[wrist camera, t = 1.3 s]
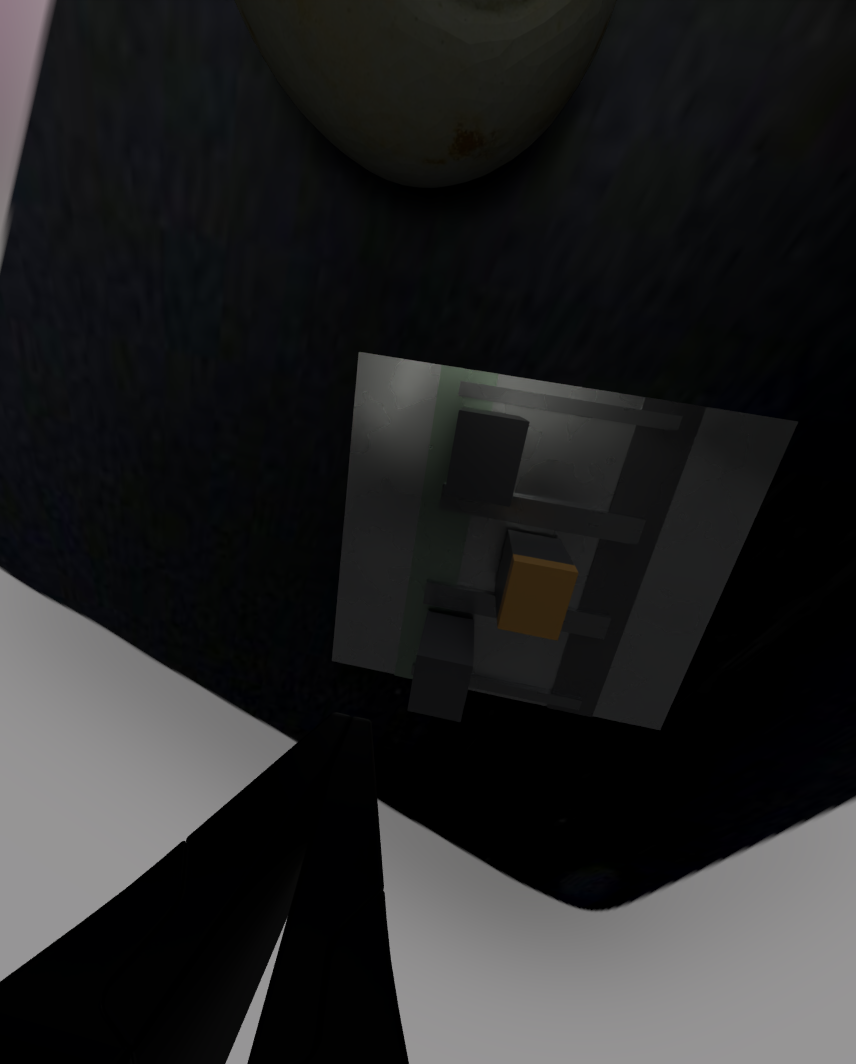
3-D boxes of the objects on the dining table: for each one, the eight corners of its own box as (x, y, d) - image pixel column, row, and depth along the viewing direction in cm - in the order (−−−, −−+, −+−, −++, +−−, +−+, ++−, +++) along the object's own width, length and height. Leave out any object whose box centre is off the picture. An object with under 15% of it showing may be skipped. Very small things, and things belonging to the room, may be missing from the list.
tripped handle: (560, 539, 18) (578, 572, 15) (544, 596, 20) (557, 640, 16) (508, 529, 19) (514, 560, 15) (494, 587, 20) (497, 628, 16)
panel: (780, 420, 17) (806, 422, 16) (652, 715, 22) (663, 736, 21) (365, 354, 18) (356, 350, 17) (337, 650, 24) (329, 665, 22)
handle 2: (519, 416, 17) (529, 421, 14) (504, 485, 18) (510, 506, 15) (463, 406, 17) (458, 409, 14) (451, 475, 18) (444, 495, 15)
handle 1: (474, 620, 20) (473, 666, 17) (463, 668, 21) (460, 722, 18) (427, 610, 21) (417, 655, 17) (419, 659, 22) (407, 710, 18)
